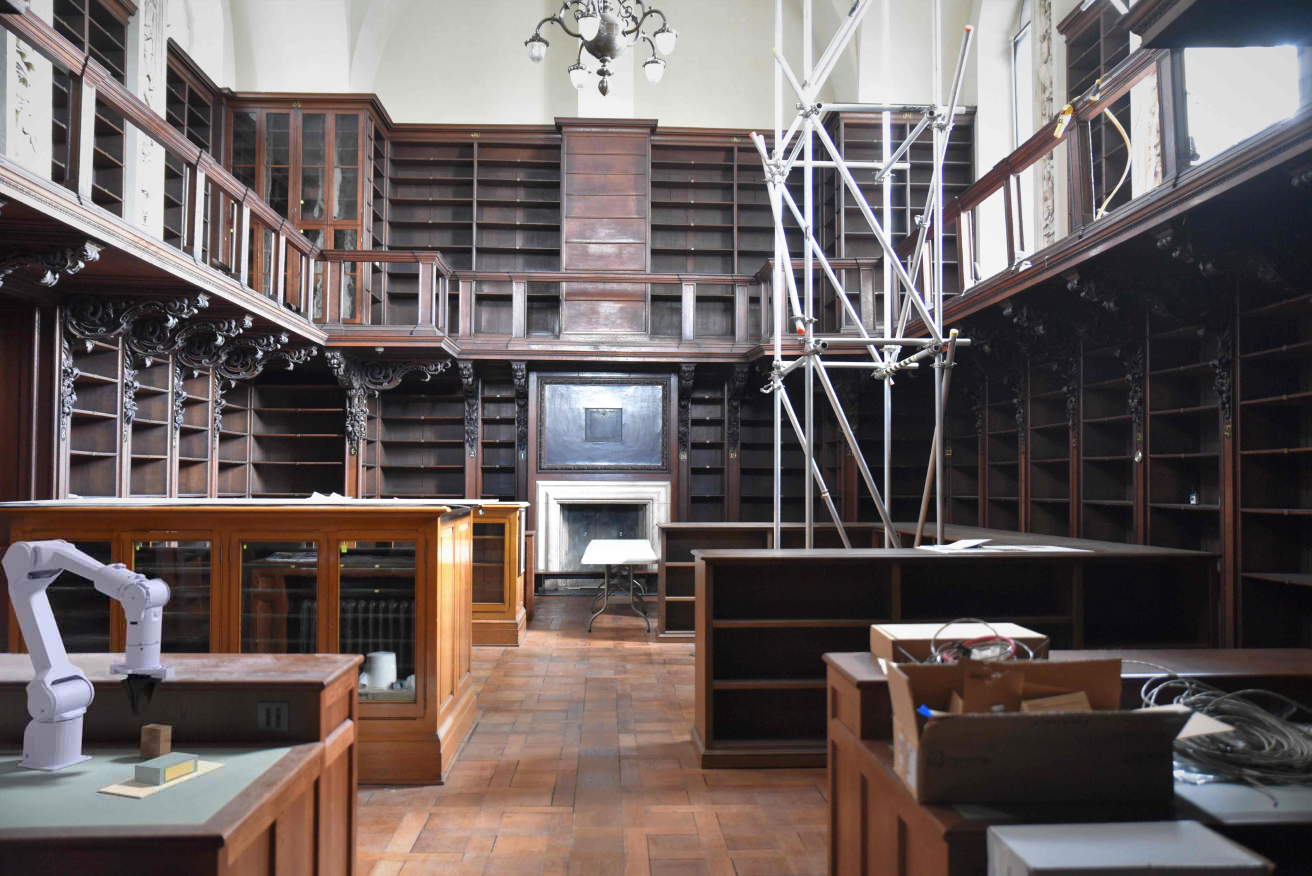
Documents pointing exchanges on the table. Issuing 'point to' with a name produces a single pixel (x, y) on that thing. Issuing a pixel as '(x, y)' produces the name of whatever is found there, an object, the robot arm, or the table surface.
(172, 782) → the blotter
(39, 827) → the table surface
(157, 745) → the walnut bookend
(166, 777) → the blue-grey box
